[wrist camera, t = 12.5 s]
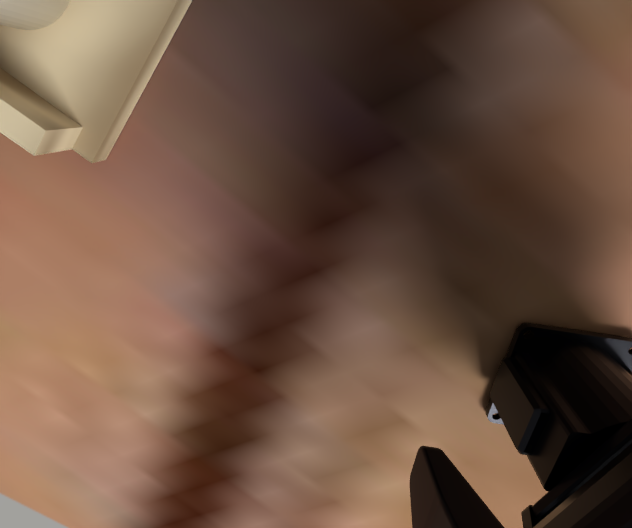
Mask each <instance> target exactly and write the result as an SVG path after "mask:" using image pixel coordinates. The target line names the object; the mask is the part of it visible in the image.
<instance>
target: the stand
mask: <svg viewBox="0 0 632 528" xmlns="http://www.w3.org/2000/svg"><path fill="white" fill-rule="evenodd" d="M191 2H192V0H70V2H69V5H68V7H67V8H66V10H65V11H64V13H63V14H62V15H61V16H60V18H59V19H57V20H56V21H55V22H54V23H52V24H50V25H49V26H47V27H44V28H41V29H36V30H22V29H16V28H12V27H8V26H3V25H0V132H1V133H2V134H3V135H5V136H6V137H8V138H9V139H11V140H12V141H14V142H15V143H16V144H18V145H19V146H21V147H22V148H24V149H25V150H27V151H28V152H29V153H31V154H32V155H34V156H36V155H42V154H47V153H53V152H59V151H65V150H70V149H72V150H74V151H75V152H77V153H78V154H79V155H81V156H82V157H84V158H85V159H87V160H88V161H89V162H91V163H94V162H98V161H103V160H106V159H107V157H108V155H109V153H110V151H111V150H112V148H113V146H114V144H115V142H116V140H117V138H118V137H119V135H120V133H121V131H122V129H123V127H124V126H125V124H126V122H127V120H128V118H129V116H130V114H131V113H132V111H133V109H134V107H135V105H136V103H137V102H138V100H139V98H140V96H141V94H142V92H143V91H144V89H145V87H146V85H147V83H148V81H149V79H150V78H151V76H152V74H153V72H154V70H155V68H156V67H157V65H158V63H159V61H160V59H161V57H162V55H163V54H164V52H165V50H166V48H167V46H168V44H169V43H170V41H171V39H172V37H173V35H174V33H175V31H176V30H177V28H178V26H179V24H180V22H181V20H182V19H183V17H184V15H185V13H186V11H187V9H188V7H189V6H190V4H191Z"/></svg>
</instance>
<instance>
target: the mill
mask: <svg viewBox="0 0 632 528" xmlns="http://www.w3.org/2000/svg"><path fill="white" fill-rule="evenodd" d="M69 2H70V0H0V25H3V26H8V27H12V28H16V29H22V30H36V29H41V28H44V27H47V26H49V25H50V24H52V23H54V22H55V21H56V20H57V19H59V18H60V16H61V15H62V14H63V13H64V11H65V10H66V8H67V7H68V5H69Z"/></svg>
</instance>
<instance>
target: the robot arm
mask: <svg viewBox="0 0 632 528" xmlns="http://www.w3.org/2000/svg"><path fill="white" fill-rule="evenodd" d="M527 331H530V333H529V334H527V335H524V333H525V332H527ZM631 347H632V338H627V337H620V336H613V335H606V334H600V333H593V332H586V331H580V330H573V329H566V328H560V327H553V326H546V325H539V324H533V323H523V324H521V325H520V326H518V328H517V329H516V332H515V334H514V337H513V340H512V342H511V345H510V347H509V350H508V353H507V355H506V357H505V358H504V359H503V360H502V362H501V365H500V367H499V370H498V373H497V375H496V378H495V381H494V383H493V386H492V389H491V391H490V397H491V398H490V400H489V403H488V406H487V408H486V415H487V417H488V419H489V421H490V422H493V423H497V424H504V425H505V427H506V429H507V431H508V433H509V435H510V437H511V439H512V441H513V443H514V445H515V447H516V449H517V450H518V452H519V453H520V454H524V455H527V457H528V459H529V461H530V462H531V464H532V466H533V468H534V470H535V472H536V474H537V476H538V478H539V480H540V482H541V484H542V486H543V487H544V489H545V490H546V491H549V492H548V493H547V494H545V495H544V496H543V497H542V498H541V499H540V500H539V501H538V502H536V503H535V504H534V505H533V506H532V505H529V506H528V507H527V508H526V509H525V510H523V511H522V513H521V514H522V521H523V528H632V349H631V350H629V349H630V348H631ZM495 413H498V414H496V415H493V414H495ZM410 497H411V512H412V526H413V528H504V527H503V526H502V524H501V523H500V522H499V521H498V519H497V518H496V517H495V516H494V514H493V513H492V512H491V511H490V509H489V508H488V507H487V506H486V504H485V503H484V502H483V501H482V499H481V498H480V497H479V496H478V494H477V493H476V492H475V491H474V489H473V488H472V487H471V486H470V484H469V483H468V482H467V481H466V480H465V478H464V477H463V476H462V475H461V473H460V472H459V471H458V470H457V468H456V467H455V466H454V465H453V463H452V462H451V461H450V460H449V458H448V457H447V456H446V455H445V453H444V452H443V451H442V450H441V449H439V448H434V447H427V446H421V447H420V448H419V450H418V452H417V455H416V459H415V462H414V465H413V468H412V471H411V475H410Z"/></svg>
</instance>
